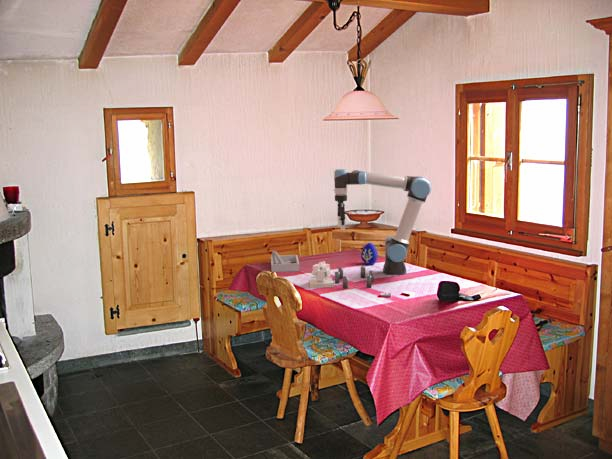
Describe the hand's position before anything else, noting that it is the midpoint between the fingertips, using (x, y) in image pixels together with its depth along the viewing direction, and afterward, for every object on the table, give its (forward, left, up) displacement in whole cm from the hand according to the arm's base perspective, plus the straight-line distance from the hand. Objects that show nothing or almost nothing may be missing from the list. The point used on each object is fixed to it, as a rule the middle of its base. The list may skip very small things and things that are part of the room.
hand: (341, 228), depth 430 cm
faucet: (+39, -37, -32) cm, 62 cm away
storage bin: (+35, -38, -31) cm, 61 cm away
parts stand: (+14, +16, -31) cm, 38 cm away
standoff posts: (-6, +14, -31) cm, 35 cm away
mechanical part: (+15, +16, -29) cm, 36 cm away
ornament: (-23, -37, -32) cm, 54 cm away
